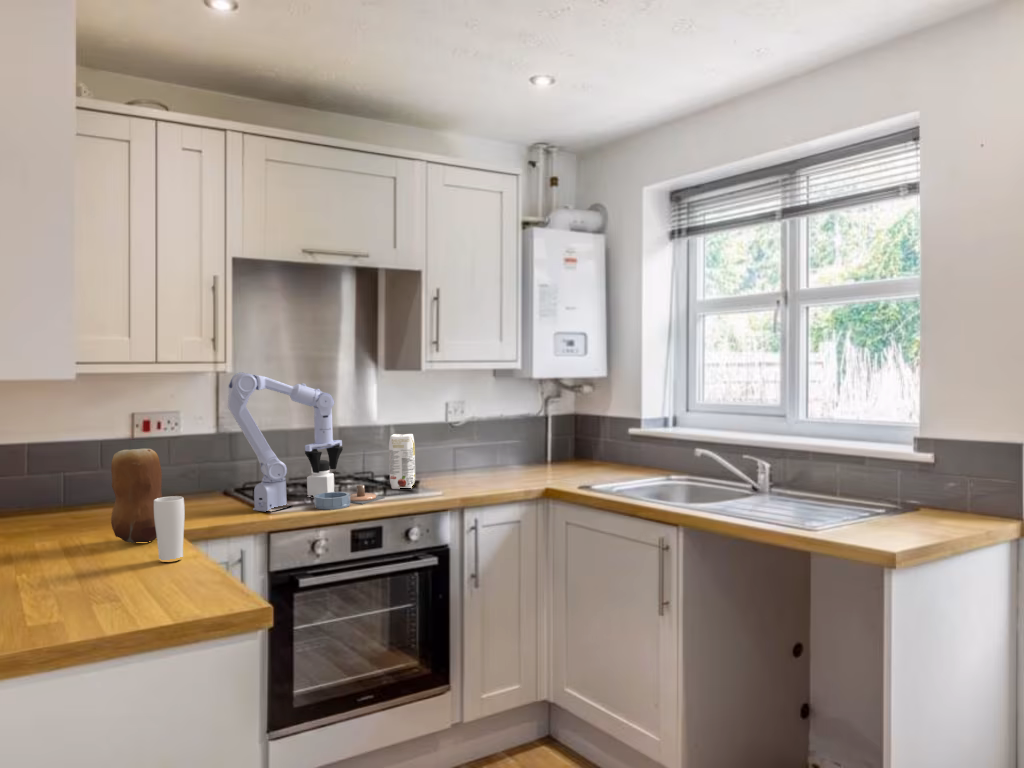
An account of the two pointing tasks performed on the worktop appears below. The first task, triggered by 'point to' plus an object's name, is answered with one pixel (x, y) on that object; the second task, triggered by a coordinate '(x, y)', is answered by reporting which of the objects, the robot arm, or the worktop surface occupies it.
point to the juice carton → (402, 461)
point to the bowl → (332, 500)
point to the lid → (362, 494)
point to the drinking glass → (169, 526)
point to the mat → (367, 501)
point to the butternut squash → (135, 494)
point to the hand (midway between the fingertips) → (324, 470)
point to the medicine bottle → (320, 480)
